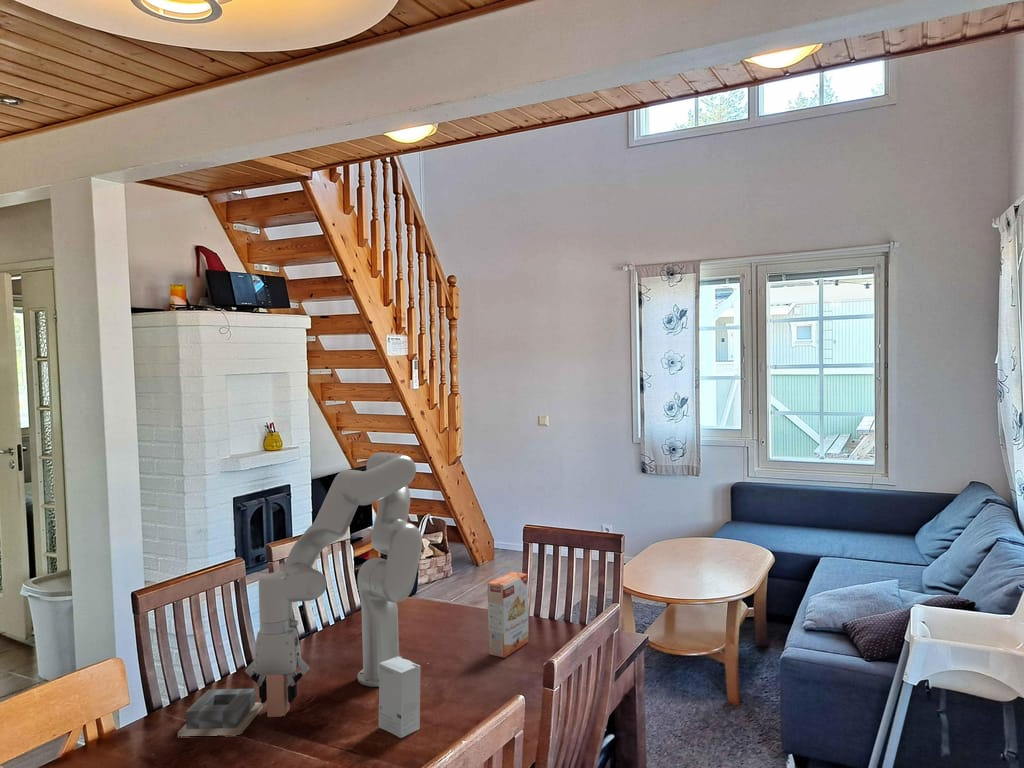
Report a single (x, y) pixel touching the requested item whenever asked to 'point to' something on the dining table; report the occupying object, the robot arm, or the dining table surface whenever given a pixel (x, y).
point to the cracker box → (508, 614)
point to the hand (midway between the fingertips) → (278, 699)
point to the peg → (277, 695)
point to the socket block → (221, 713)
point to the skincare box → (399, 696)
